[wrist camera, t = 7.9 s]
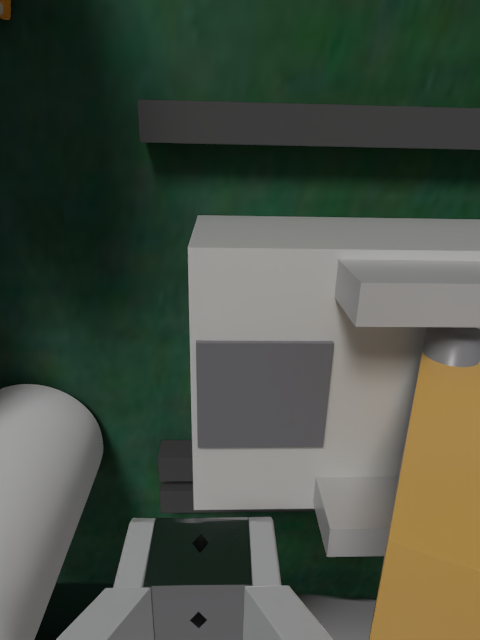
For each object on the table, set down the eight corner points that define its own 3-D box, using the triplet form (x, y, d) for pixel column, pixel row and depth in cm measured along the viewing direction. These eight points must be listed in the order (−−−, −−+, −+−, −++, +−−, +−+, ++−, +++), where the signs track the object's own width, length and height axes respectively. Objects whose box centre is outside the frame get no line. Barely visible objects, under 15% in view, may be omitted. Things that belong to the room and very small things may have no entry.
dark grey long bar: (145, 141, 18) (139, 142, 16) (143, 102, 17) (137, 99, 16) (542, 150, 18) (566, 151, 17) (551, 112, 18) (577, 111, 17)
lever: (401, 459, 17) (354, 718, 9) (428, 317, 15) (396, 502, 7) (449, 472, 16) (439, 761, 9) (484, 326, 14) (512, 538, 6)
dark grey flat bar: (164, 492, 24) (160, 513, 23) (161, 440, 23) (157, 458, 22) (456, 489, 25) (469, 509, 24) (469, 438, 24) (483, 456, 22)
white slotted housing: (200, 418, 23) (189, 565, 15) (197, 215, 19) (180, 269, 11) (512, 417, 23) (659, 557, 15) (569, 220, 20) (800, 275, 12)
